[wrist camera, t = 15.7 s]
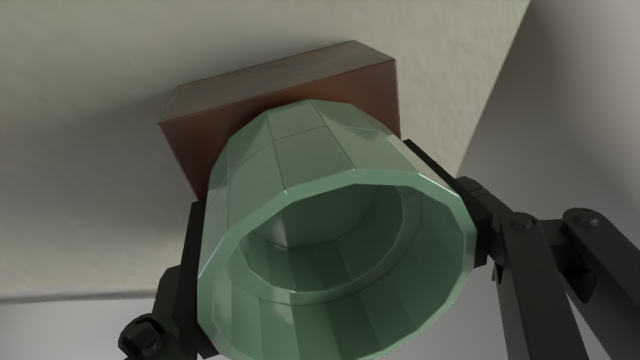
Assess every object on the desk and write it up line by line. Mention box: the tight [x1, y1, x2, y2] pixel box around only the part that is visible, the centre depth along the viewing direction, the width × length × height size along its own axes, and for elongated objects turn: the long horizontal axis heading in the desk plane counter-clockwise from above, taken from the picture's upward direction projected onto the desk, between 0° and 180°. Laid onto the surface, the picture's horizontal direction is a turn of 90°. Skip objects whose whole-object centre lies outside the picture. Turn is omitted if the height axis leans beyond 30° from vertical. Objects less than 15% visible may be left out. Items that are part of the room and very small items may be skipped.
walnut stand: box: [158, 40, 401, 201], centre depth 20 cm, size 11×11×6 cm
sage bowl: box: [197, 99, 477, 360], centre depth 14 cm, size 10×10×7 cm
